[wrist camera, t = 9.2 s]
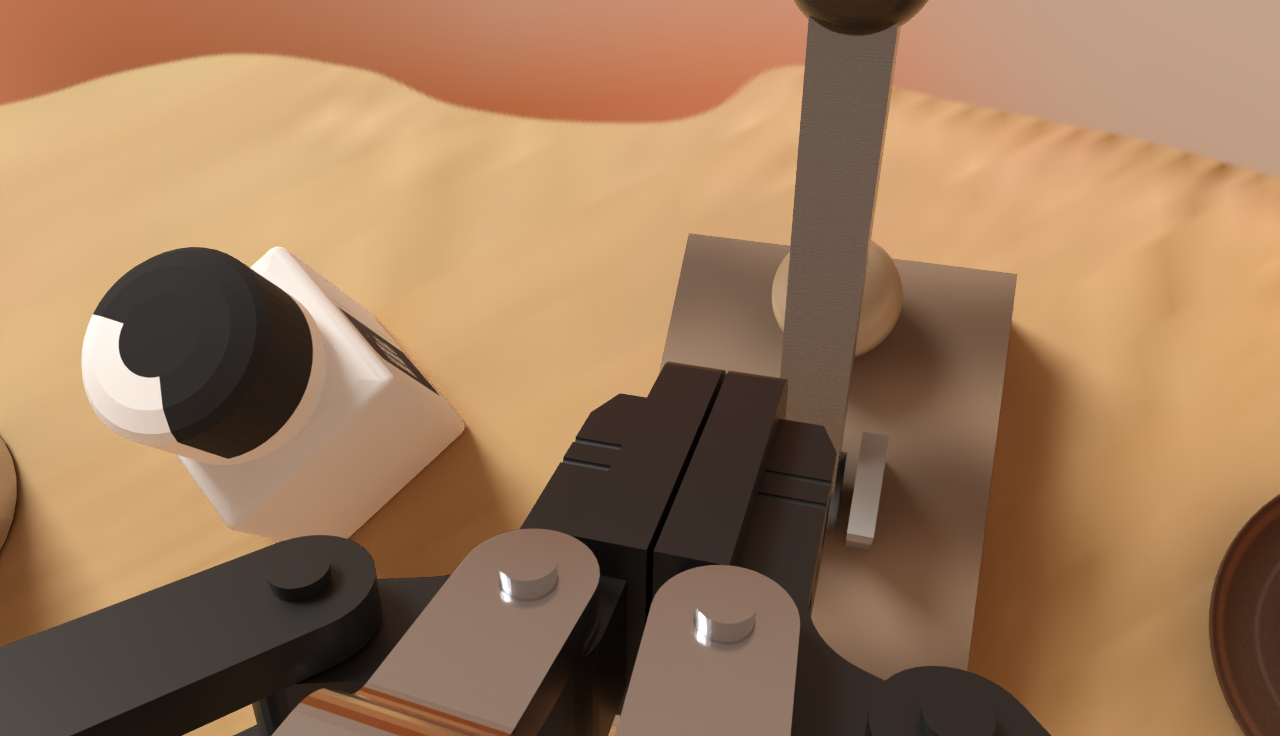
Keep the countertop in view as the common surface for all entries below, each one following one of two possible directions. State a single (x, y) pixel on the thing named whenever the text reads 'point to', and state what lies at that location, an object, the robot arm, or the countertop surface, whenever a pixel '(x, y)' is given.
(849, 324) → the lever
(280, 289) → the container
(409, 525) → the countertop surface
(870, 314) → the bench block
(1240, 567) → the cup and saucer
